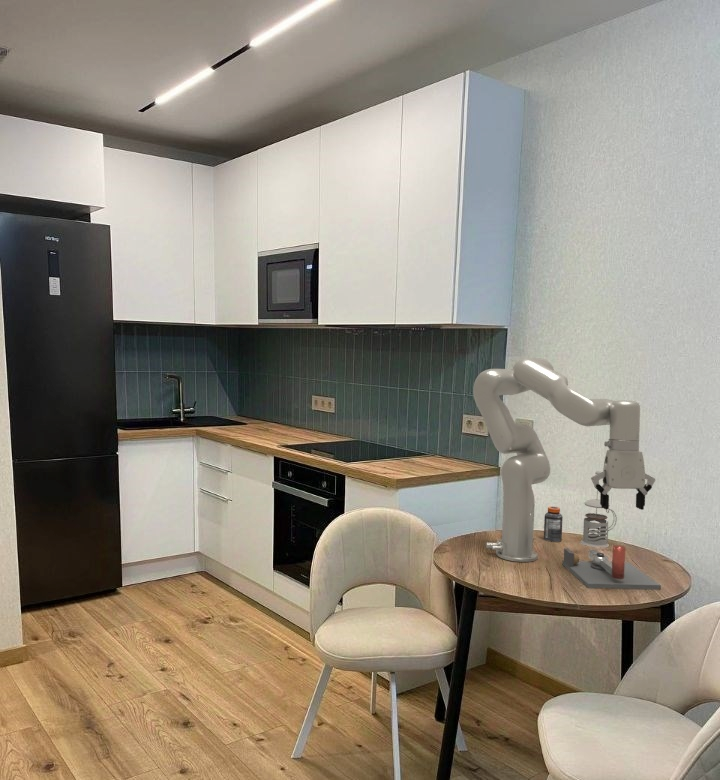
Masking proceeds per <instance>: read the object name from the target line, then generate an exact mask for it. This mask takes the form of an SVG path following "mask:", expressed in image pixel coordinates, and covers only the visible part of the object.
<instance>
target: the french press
mask: <svg viewBox="0 0 720 780" xmlns="http://www.w3.org/2000/svg"><path fill="white" fill-rule="evenodd" d="M601 472H602V471H599V470H596V471H595V475H597V474H599V473H601ZM598 494H599V491H598V490H597V489H596V498H593V499H589V500H586V501H584V502H583V504H584V505H585V506H586V507H590V508H595V513H593V512H592V513H591V512H589V513H585V514H584V516H585V518H583V532H582V536H583V537H582V539H581V540H580V541H579V544H580V543H581V545H582V544H583V545H582V546H584V545H587V546H592V547H608V546H609V545H610V544H609V543H608V540H609V531H611V530H613V529H614V528H615V526H616V524H617V518H618V517H617V515H616V512H615V511H614V510H613V509H611V508H609V509H605V512H606V513H607V514H609V513H610V511H611V513H612V515H613V517H614V518H615V519H613V521H612V523H611V525H610V526H609V520H607V519H608V516H607V515H605V514H602V513H598V509H603V508H602V507H601V505H600V499H599V498H598ZM609 507H610V504H609ZM593 521H594V522H593ZM587 546H586V547H587ZM592 547H591V548H592Z"/></svg>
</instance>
